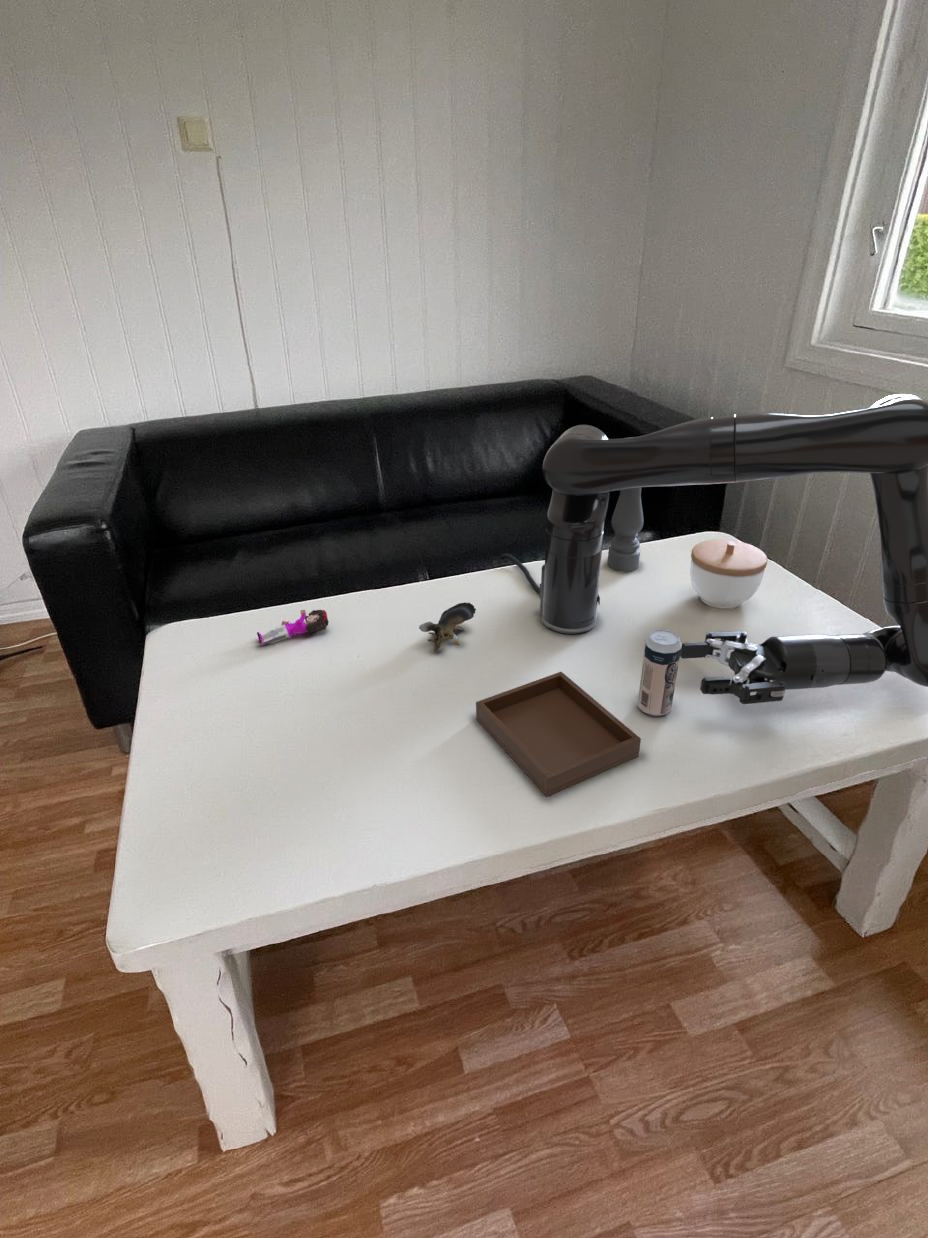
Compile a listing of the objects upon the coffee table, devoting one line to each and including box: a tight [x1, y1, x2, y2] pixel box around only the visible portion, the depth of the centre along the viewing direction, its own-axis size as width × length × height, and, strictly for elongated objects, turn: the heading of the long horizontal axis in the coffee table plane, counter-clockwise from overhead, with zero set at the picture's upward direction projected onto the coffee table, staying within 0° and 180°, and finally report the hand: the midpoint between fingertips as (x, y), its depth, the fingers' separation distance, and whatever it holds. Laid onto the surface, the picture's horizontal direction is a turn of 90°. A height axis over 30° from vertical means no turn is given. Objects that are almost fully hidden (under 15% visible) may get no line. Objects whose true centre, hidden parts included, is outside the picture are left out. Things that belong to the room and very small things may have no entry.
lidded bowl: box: [689, 539, 768, 610], centre depth 124 cm, size 13×13×11 cm
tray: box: [475, 671, 642, 797], centre depth 94 cm, size 18×15×3 cm
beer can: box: [637, 629, 683, 716], centre depth 97 cm, size 5×5×12 cm
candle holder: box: [606, 436, 645, 573], centre depth 133 cm, size 6×6×25 cm
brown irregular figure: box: [418, 601, 477, 653], centre depth 115 cm, size 8×7×9 cm
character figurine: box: [256, 609, 330, 647], centre depth 118 cm, size 6×5×12 cm
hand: (690, 668), depth 97 cm, fingers open, 8 cm apart
